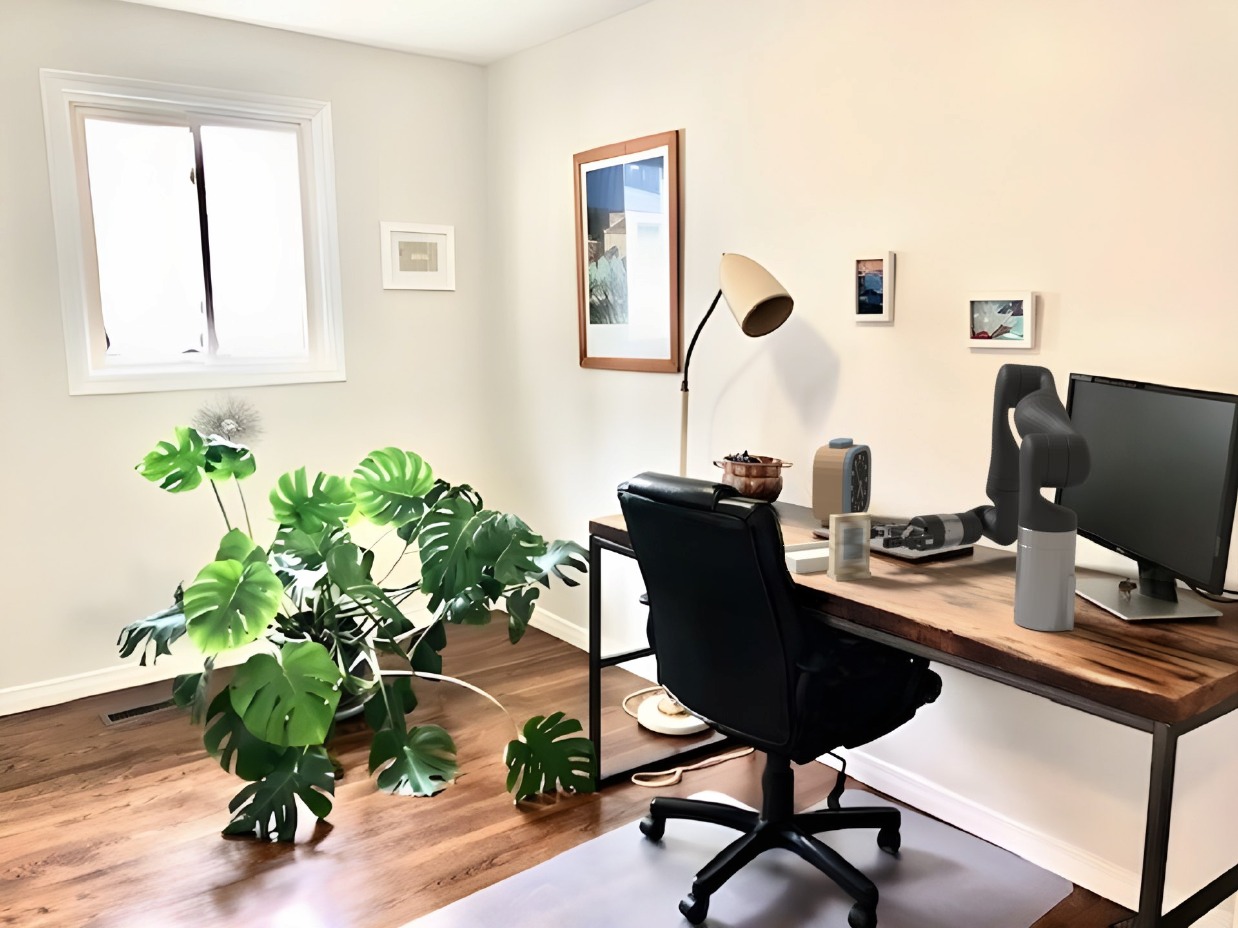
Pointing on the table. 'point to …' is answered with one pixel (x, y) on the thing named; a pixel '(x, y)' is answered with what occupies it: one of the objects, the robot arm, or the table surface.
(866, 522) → the frame
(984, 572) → the table surface
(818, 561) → the white rectangular block
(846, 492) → the alarm clock
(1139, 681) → the table surface
